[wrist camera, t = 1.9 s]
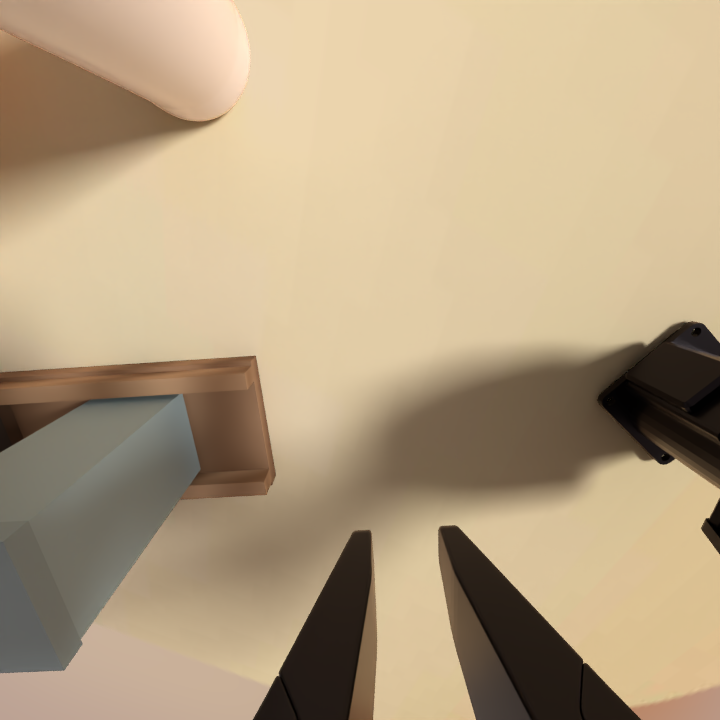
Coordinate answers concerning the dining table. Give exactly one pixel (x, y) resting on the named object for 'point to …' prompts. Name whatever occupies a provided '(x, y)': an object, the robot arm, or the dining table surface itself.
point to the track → (191, 378)
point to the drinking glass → (145, 47)
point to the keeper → (83, 518)
